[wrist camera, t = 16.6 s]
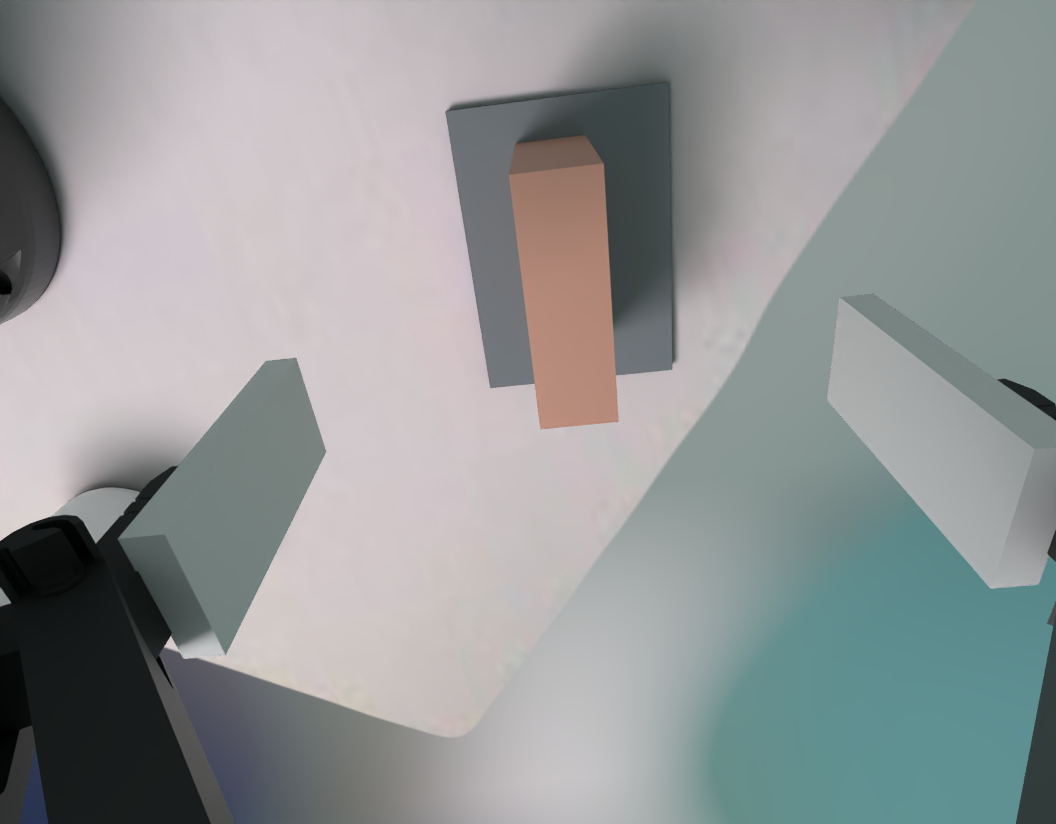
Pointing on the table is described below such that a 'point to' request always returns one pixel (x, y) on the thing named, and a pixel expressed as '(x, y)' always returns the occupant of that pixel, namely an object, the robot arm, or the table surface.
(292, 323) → the table surface
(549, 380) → the block
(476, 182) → the mat
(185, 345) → the table surface
